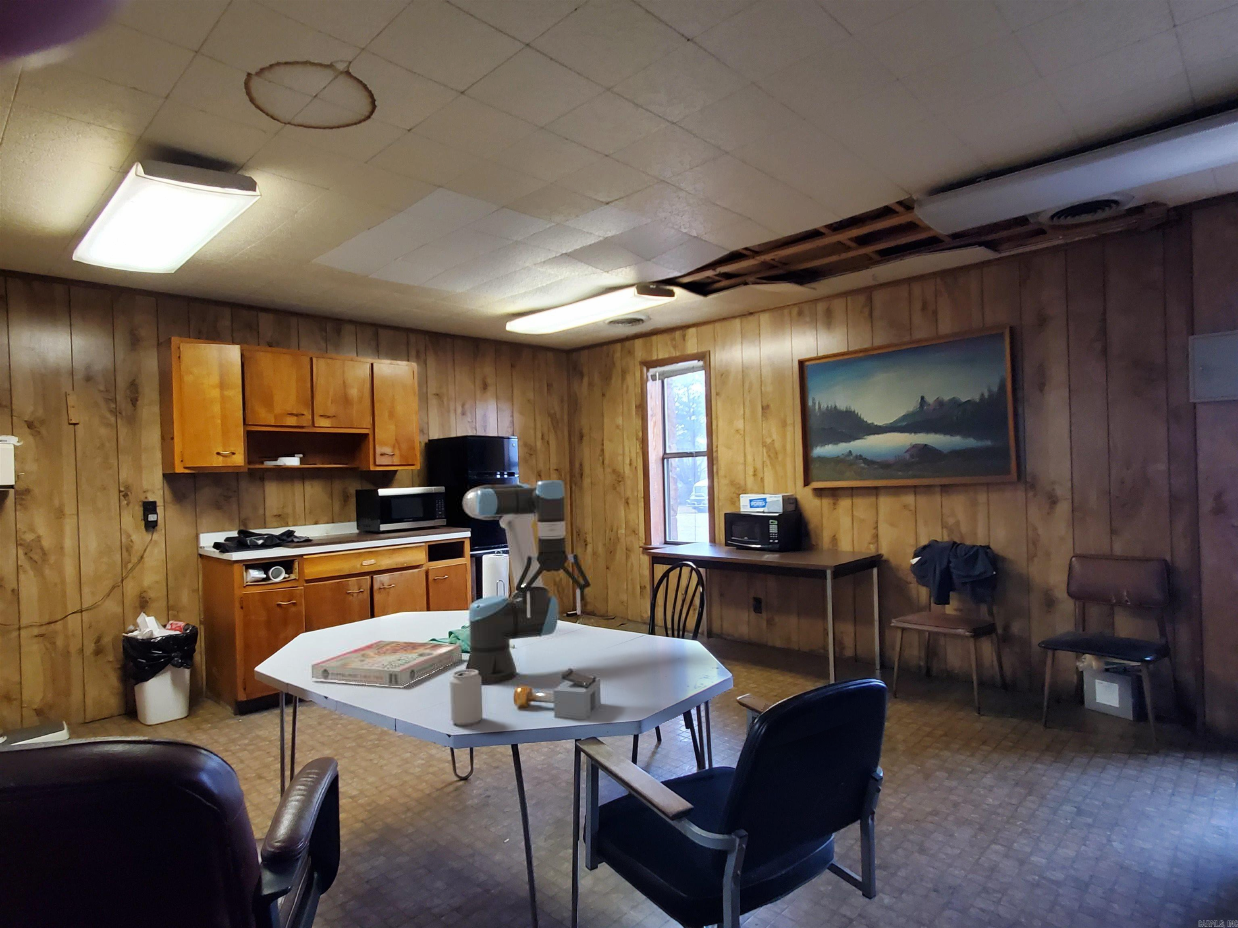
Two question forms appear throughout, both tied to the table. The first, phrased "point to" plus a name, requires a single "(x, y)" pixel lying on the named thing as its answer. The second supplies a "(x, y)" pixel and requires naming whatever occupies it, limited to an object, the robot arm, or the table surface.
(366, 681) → the pizza box
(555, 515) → the robot arm
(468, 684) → the can
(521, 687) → the pin
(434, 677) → the table surface
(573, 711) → the bracket
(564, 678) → the plate
